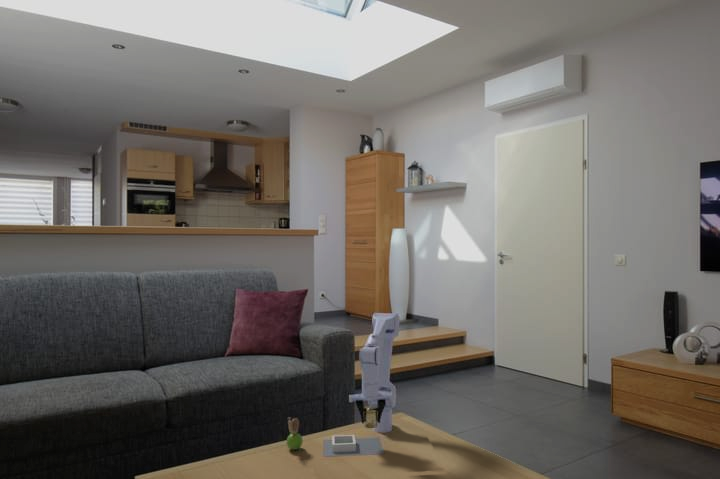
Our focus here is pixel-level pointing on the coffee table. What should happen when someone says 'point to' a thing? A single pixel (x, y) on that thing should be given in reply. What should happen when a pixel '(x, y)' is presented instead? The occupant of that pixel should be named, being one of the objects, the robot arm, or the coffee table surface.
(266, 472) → the coffee table surface
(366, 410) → the brass door knob
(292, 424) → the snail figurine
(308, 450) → the coffee table surface
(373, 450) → the fitting board
